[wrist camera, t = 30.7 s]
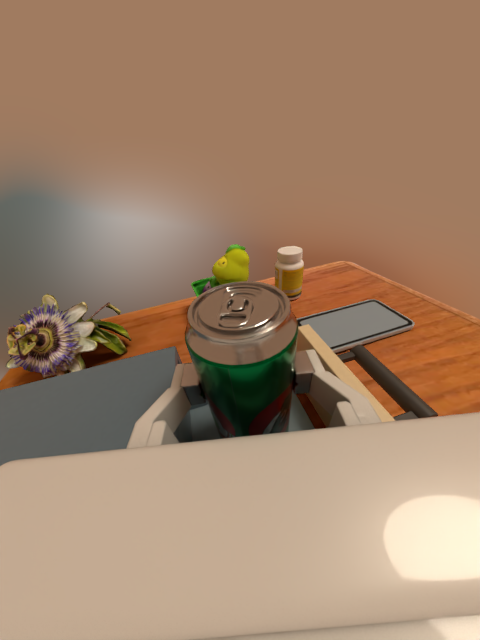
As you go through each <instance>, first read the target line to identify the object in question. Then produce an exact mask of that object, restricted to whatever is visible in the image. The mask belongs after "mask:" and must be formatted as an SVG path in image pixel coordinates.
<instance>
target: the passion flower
mask: <svg viewBox="0 0 480 640" xmlns="http://www.w3.org/2000/svg"><path fill="white" fill-rule="evenodd" d="M106 305H107V306H106ZM106 305H104V306H103V307H102V308H104V307H105V306H106V307H108V308H111V309H113V310H114V311H115V312H116V313H117V314H118V315H119V314H120V313H121V311H120V310H119V309H117V308H116V307H114V306H112V305H111V304H110V303H107V304H106ZM102 308H100V309H99V310H98V311H97V312H96V313H95V314H97V313H98V312H99V311H100V310H101V309H102ZM87 309H88V308H87V305H86V303H84V302H81V303H80V304H77V305H75V306H73V307H72V308H70V309H68V310H66V311H64V312H63V313H62V311H61V313H60V312H59V309H58V303H57V301H56V300H55V298H54V296H52V295H49V294H46V295H45V296H44V297H43V299H42V304H41V305H40V307H39V309H37V308H36V307H34V308H33V310H30V311H28V313H27V314H24V315H21V316H20V317H22V318H23V319H19V320H21V321H22V322H21V324H20V325H14V327H9V328H8V336H7V340H6V342H7V345H8V346H9V352H8V353H9V355H10V357H12V358H11V359H10V360H9V361H8V362H7V364H6V367H7V368H17V367H20V366H21V367H23V368H24V370H27V371H30V372H34V371H35V372H38V373H41V374H42V377H43V378H47V377H50V376H51V375H56V376H59V375H63V374H67V373H69V371H68V370H70V371H71V372H75V371H79V370H83V369H86V365H85V363H84V360H83V358H82V356H81V353H83V352H89V351H94V350H95V349H96V348H97V346H98V345H97V342H99V343H101V344H102V345H104V346H105V347H107V348H108V349H110V350H111V351H113V352H115V353H117V354H119V355H121V354H123V353H126V352H127V349H126V347H125V346H124V344H123V342H122V341H121V340H120V339H119V337H117V335H114V334H111V333H109V332H108V331H105V330H102V329H100V328H104V329H106V330H111V331H114V332H115V333H118V334H120V335H122V336H124V337H126V338H128V339H129V340H130V341H131V338H129V335H128V333H127V331H126V330H125V329H124V328H123V327H122V326H120V325H118V324H115V323H111V322H105V321H101V320H93V319H92V317H93V316H94V315H95V314H94V315H93V316H92V317H90V318H89V319H88V320H86V321H83V320H82V317H83V315H84V314H85V313H86V311H87Z"/></svg>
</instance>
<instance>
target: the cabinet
mask: <svg viewBox="0 0 480 640" xmlns="http://www.w3.org/2000/svg"><path fill="white" fill-rule="evenodd" d="M177 364H182V362H181V359H180V357H179V355H178V352H177V350H176V347H175V346H174V347H170V348H166V349H162V350H158V351H154V352H150V353H146V354H142V355H138V356H134V357H130V358H126V359H122V360H118V361H114V362H110V363H107V364H103V365H99V366H95V367H91V368H87V369H83V370H79V371H75V372H71V373H67V374H63V375H59V376H55V377H51V378H47V379H43V380H40V381H36V382H32V383H28V384H24V385H20V386H16V387H12V388H8V389H4V390H0V466H1V465H3V464H5V463H7V462H10V461H13V460H20V459H30V458H39V457H49V456H59V455H69V454H78V453H88V452H98V451H108V450H117V449H126V448H127V445H128V442H129V440H130V437H131V434H132V431H133V429H134V426H135V423H136V422H137V421H138V419H139V418H140V417H141V416H142V415H143V414H144V413H145V412H146V411H147V410H148V409H149V408H150V407H151V406H152V405H153V404H154V402H155V401H156V400H157V399H158V398H159V397H160V396H161V395H162V394H163V393H164V392H165V391H166V390H167V389H168V388H170V387H171V383H172V379H173V376H174V372H175V368H176V366H177ZM173 434H174V435H175V437H176V438H177V440H178V441H179V443H180V435H179V426H178V427H177V429H176V430H175V432H174V433H173Z"/></svg>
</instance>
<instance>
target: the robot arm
mask: <svg viewBox="0 0 480 640" xmlns="http://www.w3.org/2000/svg"><path fill="white" fill-rule="evenodd" d="M293 392H294V394H300V393H309V394H310V395H311V396H312V397H313V398H314V399H315V400H316V401H317V402H318V403H319V404H320V405H321V406H322V407H323V408H324V409H325V410H326V411H327V412H328V413H329V414H330V415H331V416H332V419H331V421H330V424H329V427H328V428H321V429H311V430H302V431H292V432H282V433H273V434H263V435H253V436H243V437H234V438H224V439H214V440H205V441H195V442H186V443H179V441H178V440H177V438H176V437H175V435H174V434H173V433H174V432H175V430H176V429H177V427H178V426H179V424H180V423H181V421H182V420H183V418H184V417H185V415H186V414H187V412H188V411H189V409H190V408H191V405H197V404H205V403H206V397H205V395H204V392H203V389H202V386H201V384H200V381H199V378H198V375H197V373H196V370H195V367H194V364H193V363H185V364H177V366H176V368H175V372H174V376H173V379H172V383H171V387H170V388H168V389H167V390H166V391H165V392H164V393H163V394H162V395H161V396H160V397H159V398H158V399H157V400H156V401H155V402H154V404H153V405H152V406H151V407H150V408H149V409H148V410H147V411H146V412H145V413H144V414H143V415H142V416H141V417H140V418H139V419H138V421H137V422H136V423H135V426H134V429H133V431H132V434H131V437H130V440H129V442H128V445H127V448H126V449H117V450H108V451H98V452H88V453H78V454H69V455H59V456H49V457H39V458H30V459H20V460H13V461H10V462H7V463H5V464H3V465H1V466H0V640H480V412H476V413H466V414H457V415H447V416H438V417H428V418H418V419H409V420H399V421H389V422H382V421H381V419H380V418H379V416H378V415H377V413H376V411H375V410H374V408H373V406H372V405H371V403H370V402H369V400H368V398H366V397H365V396H363V395H362V394H360V393H359V392H358V391H356V390H355V389H353V388H352V387H350V386H349V385H347V384H346V383H345V382H343V381H342V380H340V379H339V378H337V377H336V376H334V375H333V374H332V373H330V372H329V371H325V369H324V367H323V365H322V363H321V361H320V359H319V357H318V355H317V353H316V351H315V350H314V349H312V350H303V351H296V359H295V369H294V379H293Z"/></svg>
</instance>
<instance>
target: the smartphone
mask: <svg viewBox="0 0 480 640" xmlns="http://www.w3.org/2000/svg"><path fill="white" fill-rule="evenodd" d="M297 322H298V327H300V326H303V325H307V324H309V325H310V326H311V328H312V329H313V330H314V331H315V332H316V333H317V334H318V335H319V336H320V338H321V339H322V340H323V341H324V342H325V343H326V344H327V345H328V346H329V347H330V349H331V350H332V351H333V352H334V353H337V352H340V351H343V350H346V349H350V348H353V347H354V346H356V345H363V344H366V343H369V342H372V341H375V340H379V339H382V338H385V337H388V336H391V335H395V334H398V333H401V332H404V331H407V330H411V329H412V328H413V326H414V322H413V321H412V320H411V319H409V318H407V317H406V316H404V315H402V314H400V313H399V312H397V311H395V310H394V309H392V308H390V307H389V306H387V305H385V304H384V303H382V302H380V301H378V300H374V299H371V300H366V301H363V302H359V303H355V304H351V305H347V306H344V307H340V308H336V309H332V310H328V311H325V312H321V313H317V314H313V315H309V316H306V317H302V318H298V319H297Z"/></svg>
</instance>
